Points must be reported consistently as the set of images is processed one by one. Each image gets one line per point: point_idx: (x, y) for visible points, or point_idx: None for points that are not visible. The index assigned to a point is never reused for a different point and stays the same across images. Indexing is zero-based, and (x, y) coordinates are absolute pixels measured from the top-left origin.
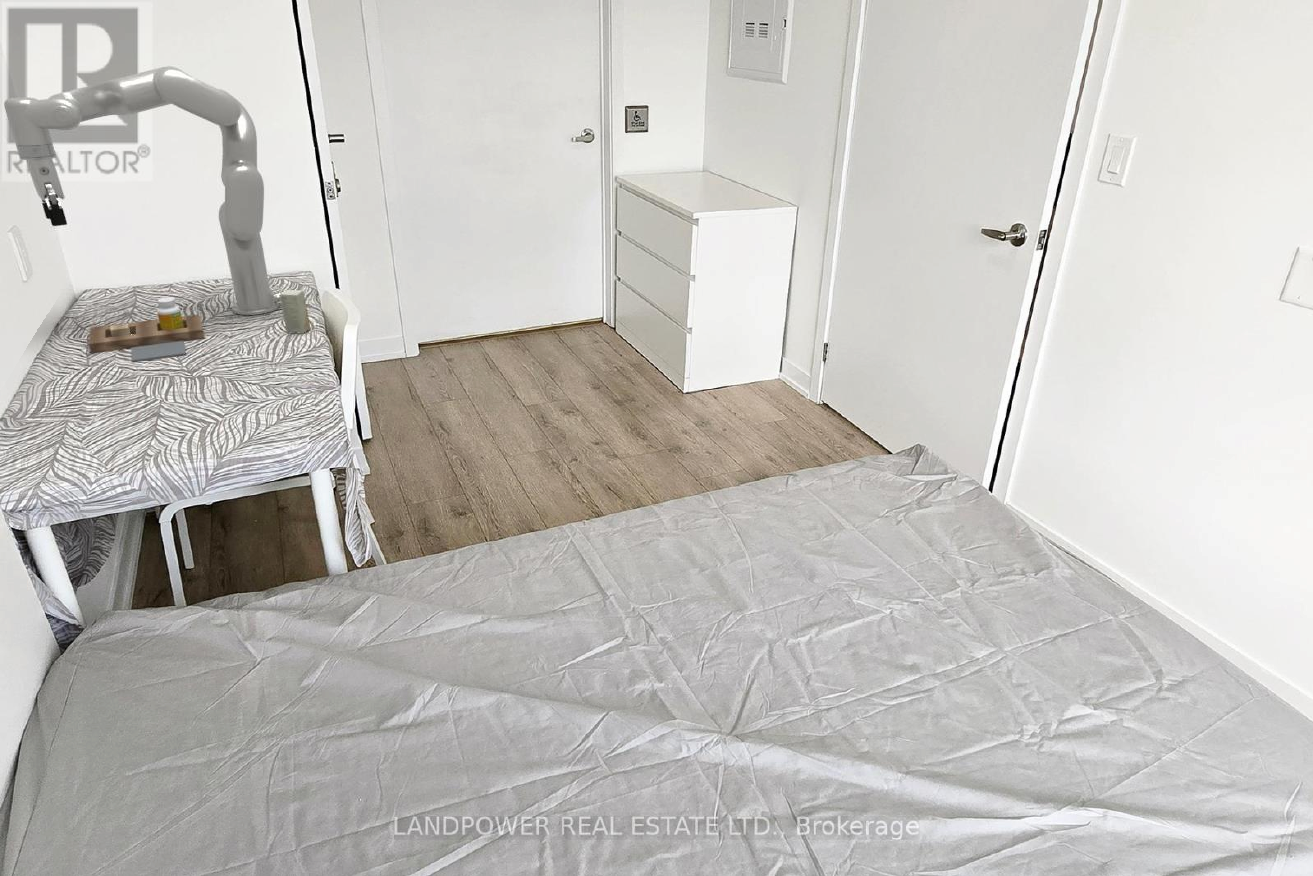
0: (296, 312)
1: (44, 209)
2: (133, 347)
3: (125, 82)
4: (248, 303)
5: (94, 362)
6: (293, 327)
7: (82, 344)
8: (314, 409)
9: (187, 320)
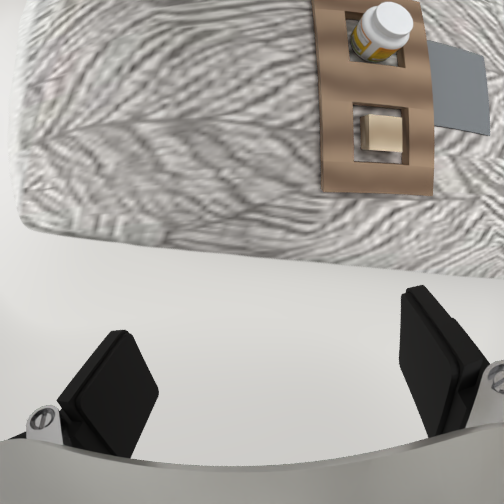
0: None
1: (133, 434)
2: (434, 121)
3: None
4: None
5: (466, 189)
6: None
7: (364, 207)
8: None
9: (349, 9)
